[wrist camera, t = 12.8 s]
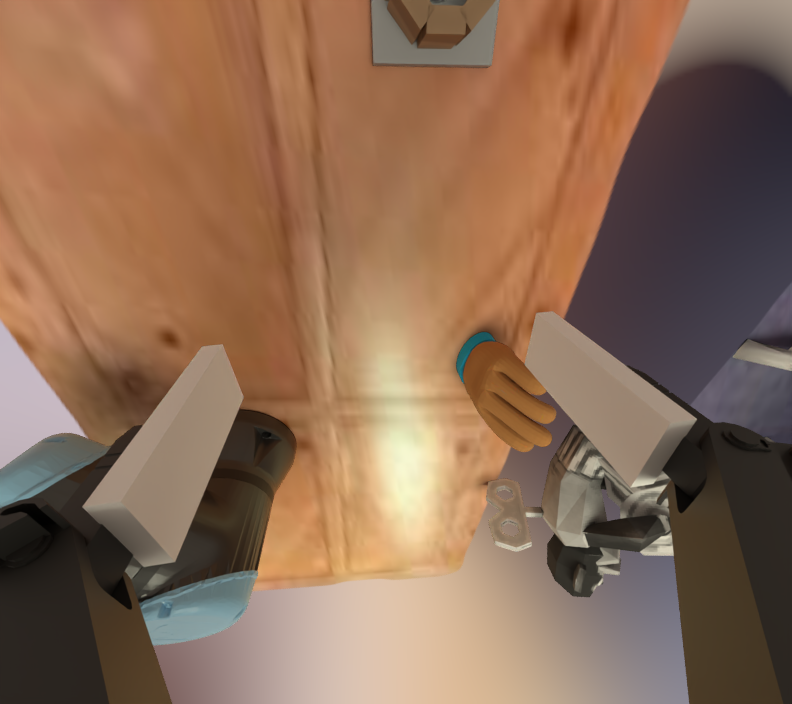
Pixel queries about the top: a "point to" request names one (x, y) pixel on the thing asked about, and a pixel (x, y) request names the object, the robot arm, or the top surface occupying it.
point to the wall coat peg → (398, 50)
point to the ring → (437, 21)
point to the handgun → (765, 354)
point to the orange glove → (504, 392)
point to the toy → (585, 516)
